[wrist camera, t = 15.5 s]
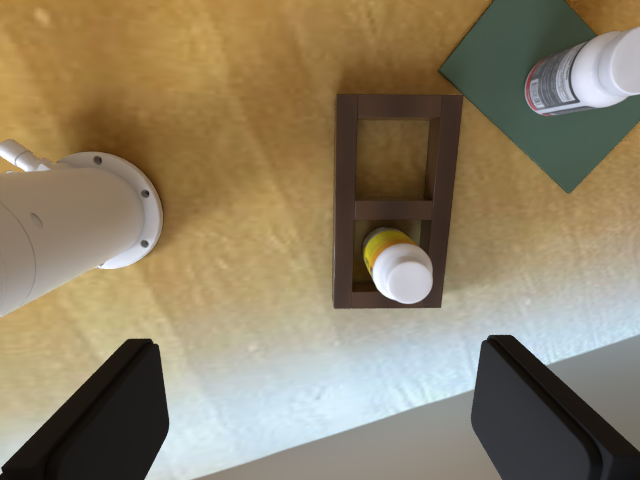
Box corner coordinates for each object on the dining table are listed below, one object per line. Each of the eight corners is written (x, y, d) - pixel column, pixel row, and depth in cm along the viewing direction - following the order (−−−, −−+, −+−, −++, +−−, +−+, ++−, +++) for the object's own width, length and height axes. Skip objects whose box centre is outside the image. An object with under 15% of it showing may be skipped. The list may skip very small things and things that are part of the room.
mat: (437, 70, 34) (439, 69, 33) (525, -39, 31) (527, -41, 31) (567, 193, 37) (569, 193, 37) (654, 102, 35) (657, 102, 34)
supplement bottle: (350, 245, 38) (364, 279, 28) (390, 215, 37) (418, 238, 27) (379, 280, 39) (402, 324, 29) (418, 252, 38) (455, 286, 29)
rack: (332, 297, 40) (333, 308, 37) (334, 99, 34) (336, 94, 31) (431, 296, 40) (441, 308, 37) (450, 99, 34) (463, 95, 31)
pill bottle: (588, 70, 33) (699, 37, 24) (558, 125, 35) (652, 114, 25) (540, 45, 33) (635, 1, 23) (511, 102, 34) (589, 83, 25)
